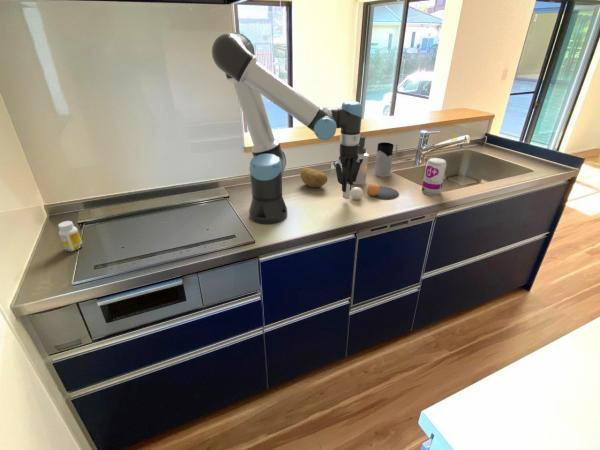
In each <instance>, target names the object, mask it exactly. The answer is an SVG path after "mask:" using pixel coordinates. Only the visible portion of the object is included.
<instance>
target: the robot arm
mask: <svg viewBox="0 0 600 450" xmlns="http://www.w3.org/2000/svg"><path fill="white" fill-rule="evenodd" d="M211 55H212V56H211V57H212V59H213V62H214V64H215V66H216V67H218V69H219V70H221V71H222V72H223V73H225V76H226V79H227V81H229V82H231V83H232V84H233V87H234V90H235V94H236V96H237V100H238V102H239V105H240V108H241V111H242V113H243V114H242V115H243V117H244V120H245V123H246V126H247V128H248V129H247V130H248V132H249V135H250V138H251V141H252V145H253V146H252V149H251V154H252V158H251V159H250V161H249V173H250V183H251V186H250V187H251V196H252V198H251V203H250V206H249V209H248V214H249V219H250V221H252V222H255V223H256V224H260V225H261V224H262V225H272V224H277V223H281V222H283V221H284V220H286V218H287V217H288V208H287V205H286V203H285V200H284V197H283V176H284V171H285V168H286V166H287V158H286V155H285V152H284V150H283V149H282V146H281V144H280V141H279V140H277V139H275V136H274V134H273V131H272V130H273V129H272V127H271V124H270V123H271V122H270V120H269V117H268V113H267V110H266V105H265V104H264V100H263V97H265V98H266V99H267V100H269V101H270V102H271V103H273V104H274V105H276V106H277V107H279V109H281V110H283V111H284V112H285V113H287V114H288V115H290V116H291V117H293V118H294V119H296V120H297V121H298V122H300V124H302V125H304V126H305V127H307V128H308V129H310V131H312V132H314V133H313V134H314V135H315V136H316V137H317V138H318V139H319V140H320V141H329V140H330V139H332V138H333V137H334V136H335V135H336V132H337V129H340V135H339V143H340V144H339V157H338V160H337V161H333V165H334V167H335V173H336V178H337V183H339V184H340V185H341V191H342V198H343V199H345V200H349V199H350V191H351V190H352V186H353V185H354V184H353V182H355V181H356V179H357V175H358V172H359V168H360V165H361V163H362V161H363V159H361V158H359V157H358V153H359V144H358V143H359V141H360V136H361V129H362V117H363V114H362V113H363V106H362V105H363V104H362V103H361V102H359V101H353V100H350V101H349V100H348V101H343V102H342V104H341V106H340V107H320V106H319V107H318V106H317V105H316V104H315V103H313V102H312V101H311V100H309V98H306V97H305V96H304V95H303V94H301V93H300V92H298V90H296V89H294V88H293V87H292V86H291V85H290V84H288V83H287V82H285V81H284V80H283V79H281V78H279V76H277V75H276V74H274V73H273V72H272V71H270V70H269V69H268V68H266V67H265V66H264V65H262V64H260V62H258V60H257V57H256V53H255V47H254V44H253V43H252V41H251V39H250V38H248V37H247V36H246V35H244V34H243V33H241V32H240V33H239V32H232V33H231V32H230V33H224V34H221V35H218V37H217V38H215V40H214V42H213V45H212V47H211ZM262 96H263V97H262Z"/></svg>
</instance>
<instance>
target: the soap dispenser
mask: <svg viewBox="0 0 600 450" xmlns="http://www.w3.org/2000/svg"><path fill="white" fill-rule="evenodd" d="M365 141H366V136H365V135H360V141H359V143H358V144H359V153H358V157H359V158H361V159H363V161H362V163H361V165H360V168H359V172H358V175H357V179H356V181H355V182H353V185H360V186H361V185H363V186H364V185H366V182H367V171H368V170H367V169H368V164H369V163H368V160H369V154H368V151H367V148H365V144H366V142H365Z"/></svg>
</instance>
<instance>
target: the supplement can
mask: <svg viewBox="0 0 600 450" xmlns="http://www.w3.org/2000/svg"><path fill="white" fill-rule="evenodd" d="M446 169H447V161H446V159H444V158H442V157H430V158H428V160H427V161H426V165H425V169H424V170H425V171H424V174H423V181H422V185H421V191H422V192H423V193H424V194H426V195H429V196H437V195H440V193H442V192H441V191H442V188H443V182H444V178H445V174H446Z"/></svg>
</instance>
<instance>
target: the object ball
mask: <svg viewBox="0 0 600 450" xmlns="http://www.w3.org/2000/svg"><path fill="white" fill-rule="evenodd" d="M366 192H368V193H367V195H368V194H369V195H368V196H370V195H371V196H376V195H377V194H378V193H379V192H380V187H379V184H377V183H370V184H368V186H367V189H366ZM371 196H370V197H371Z"/></svg>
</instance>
